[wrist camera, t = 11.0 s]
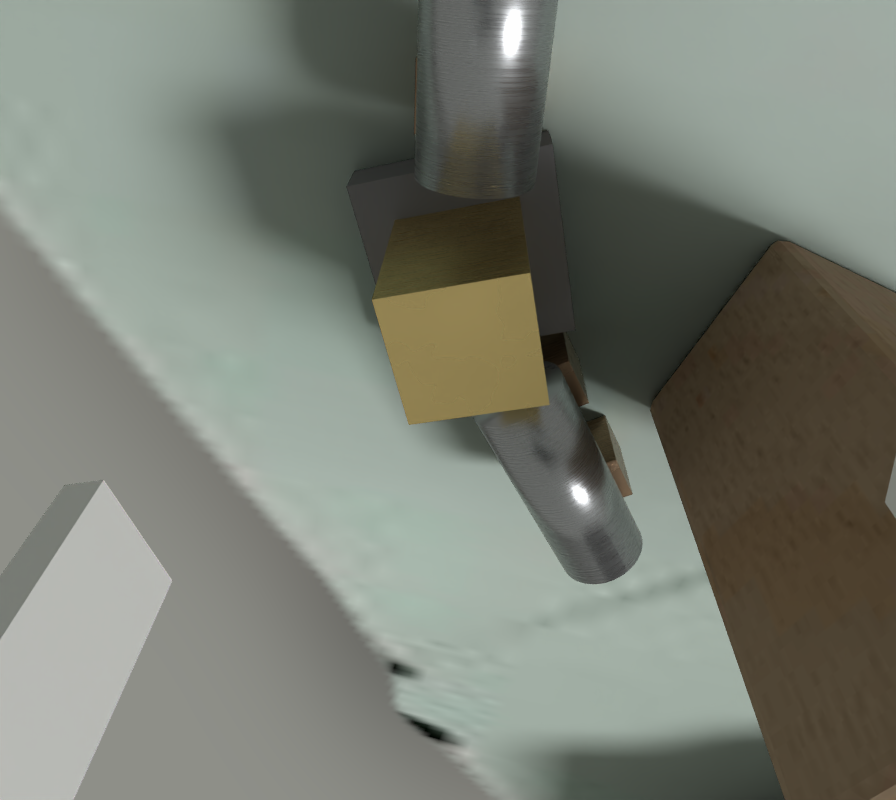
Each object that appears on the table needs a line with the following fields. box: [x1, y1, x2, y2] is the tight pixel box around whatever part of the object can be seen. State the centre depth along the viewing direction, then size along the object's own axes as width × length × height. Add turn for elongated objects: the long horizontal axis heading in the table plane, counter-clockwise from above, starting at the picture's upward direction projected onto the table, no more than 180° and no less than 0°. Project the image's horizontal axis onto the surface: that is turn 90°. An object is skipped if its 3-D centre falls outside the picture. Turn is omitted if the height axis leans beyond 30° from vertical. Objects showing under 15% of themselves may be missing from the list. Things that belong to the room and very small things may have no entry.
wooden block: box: [650, 240, 896, 800], centre depth 24 cm, size 10×10×20 cm
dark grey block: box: [347, 131, 575, 336], centre depth 29 cm, size 8×8×2 cm
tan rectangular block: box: [372, 197, 550, 425], centre depth 25 cm, size 5×5×7 cm
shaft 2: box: [472, 332, 642, 584], centre depth 31 cm, size 10×4×8 cm, turn 27°
